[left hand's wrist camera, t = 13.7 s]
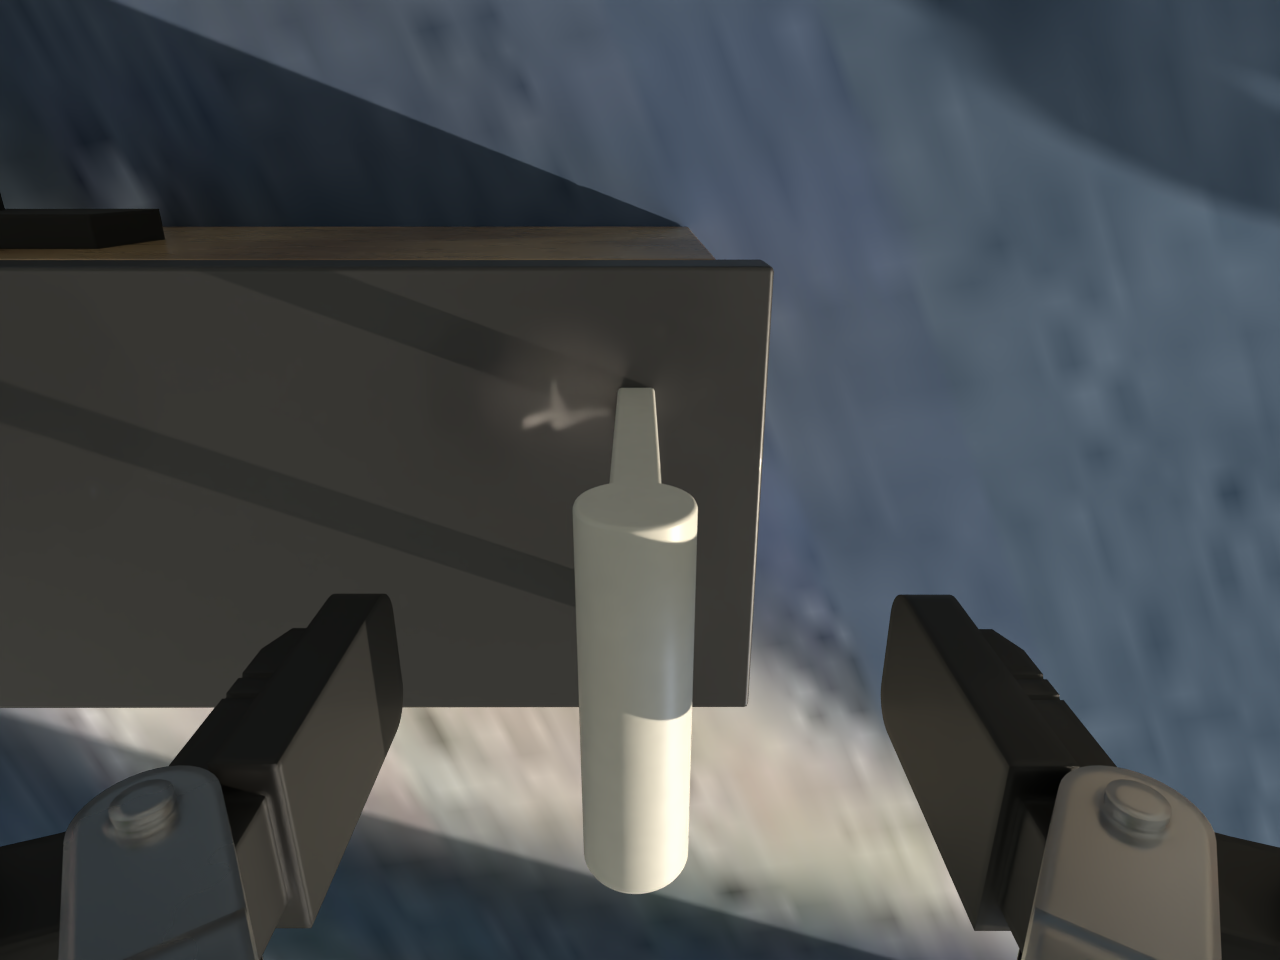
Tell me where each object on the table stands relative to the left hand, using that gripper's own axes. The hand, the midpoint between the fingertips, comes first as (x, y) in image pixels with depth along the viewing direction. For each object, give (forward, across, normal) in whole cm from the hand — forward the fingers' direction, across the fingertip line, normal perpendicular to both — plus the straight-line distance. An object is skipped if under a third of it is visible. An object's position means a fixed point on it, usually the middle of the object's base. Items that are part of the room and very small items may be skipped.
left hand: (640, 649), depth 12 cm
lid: (+6, +7, 0) cm, 9 cm away
